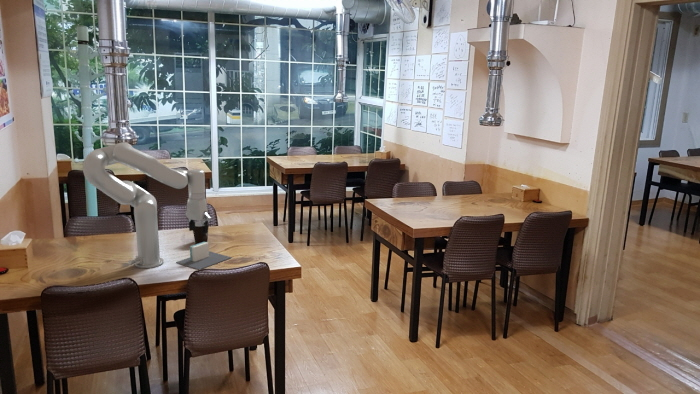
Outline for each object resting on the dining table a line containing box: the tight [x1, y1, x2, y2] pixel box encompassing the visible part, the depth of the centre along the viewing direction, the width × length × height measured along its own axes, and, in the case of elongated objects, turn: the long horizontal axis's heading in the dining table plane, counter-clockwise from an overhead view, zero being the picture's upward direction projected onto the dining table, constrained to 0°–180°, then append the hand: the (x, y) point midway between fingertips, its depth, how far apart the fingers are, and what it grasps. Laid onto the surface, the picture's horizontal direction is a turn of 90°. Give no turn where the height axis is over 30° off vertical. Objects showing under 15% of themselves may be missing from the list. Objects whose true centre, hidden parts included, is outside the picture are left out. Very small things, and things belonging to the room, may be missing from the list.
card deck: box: [189, 241, 210, 262], centre depth 250 cm, size 9×3×7 cm, turn 148°
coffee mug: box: [192, 221, 210, 245], centre depth 277 cm, size 12×9×10 cm
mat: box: [175, 250, 232, 271], centre depth 249 cm, size 20×16×1 cm
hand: (198, 231), depth 248 cm, fingers open, 8 cm apart
